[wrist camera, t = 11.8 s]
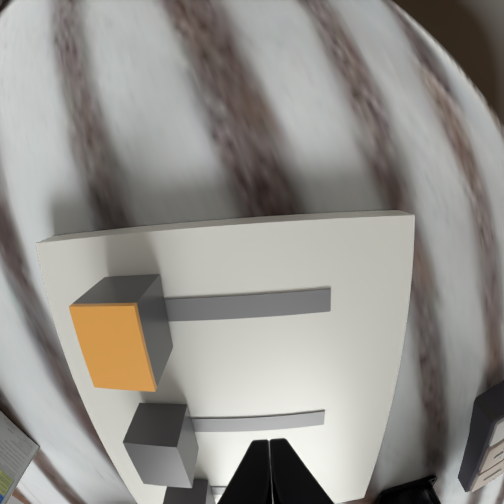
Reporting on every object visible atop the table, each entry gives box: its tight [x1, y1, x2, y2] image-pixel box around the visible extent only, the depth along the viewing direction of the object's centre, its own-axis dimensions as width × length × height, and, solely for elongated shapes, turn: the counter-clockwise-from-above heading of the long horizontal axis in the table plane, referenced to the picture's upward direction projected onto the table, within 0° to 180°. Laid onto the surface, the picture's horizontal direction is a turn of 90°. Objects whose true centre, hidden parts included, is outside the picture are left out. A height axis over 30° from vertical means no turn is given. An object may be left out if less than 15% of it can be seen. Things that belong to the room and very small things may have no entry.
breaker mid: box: [123, 403, 199, 488], centre depth 16 cm, size 3×4×4 cm
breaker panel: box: [36, 210, 415, 504], centre depth 19 cm, size 20×24×2 cm
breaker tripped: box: [69, 274, 173, 392], centre depth 14 cm, size 3×4×4 cm
